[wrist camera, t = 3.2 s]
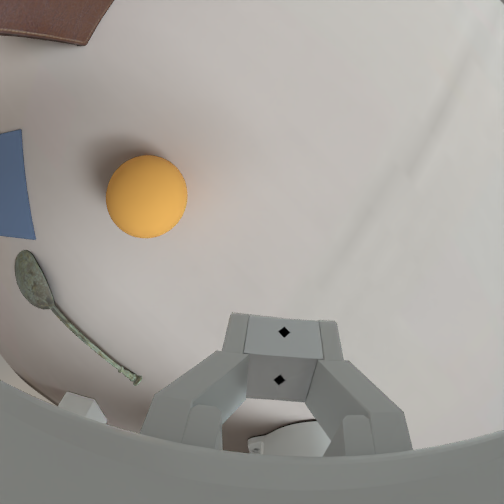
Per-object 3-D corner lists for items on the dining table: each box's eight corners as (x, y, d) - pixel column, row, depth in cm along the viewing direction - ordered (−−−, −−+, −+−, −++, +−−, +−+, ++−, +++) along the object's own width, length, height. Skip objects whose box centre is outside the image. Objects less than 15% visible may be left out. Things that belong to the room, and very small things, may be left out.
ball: (197, 223, 25) (173, 256, 20) (131, 218, 26) (96, 248, 20) (197, 149, 23) (169, 164, 17) (127, 150, 23) (86, 165, 18)
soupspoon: (30, 234, 29) (16, 262, 32) (11, 246, 26) (0, 275, 29) (155, 370, 35) (128, 383, 37) (144, 390, 32) (118, 400, 34)
